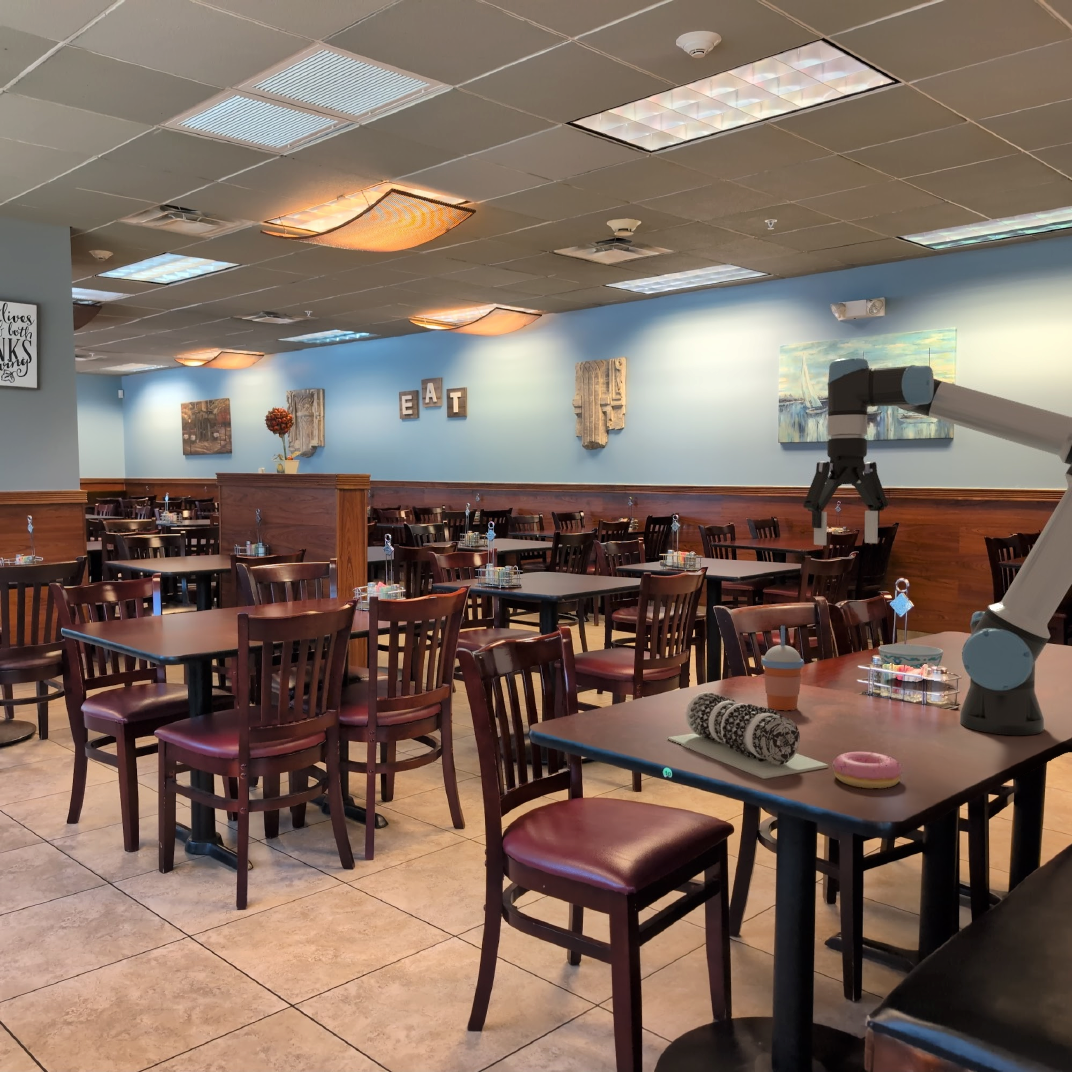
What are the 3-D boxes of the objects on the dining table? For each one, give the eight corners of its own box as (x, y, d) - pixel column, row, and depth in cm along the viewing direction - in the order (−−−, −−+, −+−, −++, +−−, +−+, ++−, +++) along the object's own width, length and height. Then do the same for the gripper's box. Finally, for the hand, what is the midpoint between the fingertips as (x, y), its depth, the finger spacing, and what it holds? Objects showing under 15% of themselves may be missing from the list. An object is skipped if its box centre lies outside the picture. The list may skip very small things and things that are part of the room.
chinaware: (938, 675, 247) (939, 645, 247) (945, 687, 233) (946, 655, 232) (876, 672, 252) (877, 643, 251) (879, 684, 237) (880, 652, 237)
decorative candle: (731, 700, 189) (816, 727, 166) (713, 744, 188) (795, 777, 165) (696, 682, 186) (777, 706, 163) (676, 727, 184) (756, 758, 161)
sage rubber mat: (667, 739, 186) (667, 737, 186) (726, 731, 192) (726, 728, 192) (763, 778, 161) (763, 775, 161) (828, 767, 167) (828, 764, 167)
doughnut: (900, 795, 153) (900, 768, 152) (827, 786, 157) (827, 761, 157) (904, 776, 163) (904, 751, 162) (836, 768, 167) (836, 745, 167)
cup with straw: (785, 714, 206) (785, 630, 205) (752, 706, 213) (752, 625, 212) (812, 708, 211) (813, 626, 210) (779, 701, 218) (780, 621, 218)
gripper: (878, 439, 203) (877, 541, 204) (785, 437, 192) (784, 544, 193) (907, 437, 196) (905, 542, 197) (812, 435, 185) (811, 546, 186)
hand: (845, 544), depth 195 cm, fingers open, 13 cm apart
